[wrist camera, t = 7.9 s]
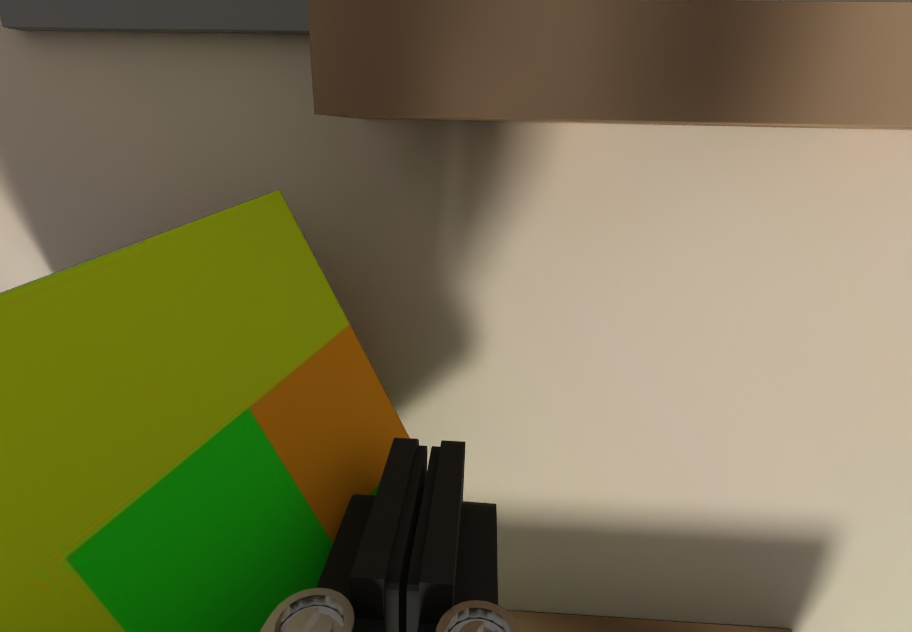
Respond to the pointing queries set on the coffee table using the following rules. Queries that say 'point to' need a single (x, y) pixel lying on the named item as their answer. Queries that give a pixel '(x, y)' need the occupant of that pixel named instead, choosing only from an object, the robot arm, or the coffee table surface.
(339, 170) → the coffee table surface
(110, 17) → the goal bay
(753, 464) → the coffee table surface
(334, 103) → the chute
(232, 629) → the puzzle toy
